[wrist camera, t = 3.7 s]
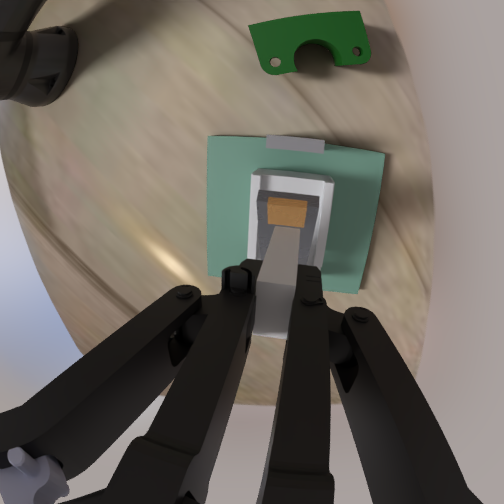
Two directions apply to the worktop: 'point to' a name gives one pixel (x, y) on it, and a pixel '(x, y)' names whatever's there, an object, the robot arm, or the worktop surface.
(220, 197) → the board
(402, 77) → the worktop surface
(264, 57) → the clamp
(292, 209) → the grey flat bar
